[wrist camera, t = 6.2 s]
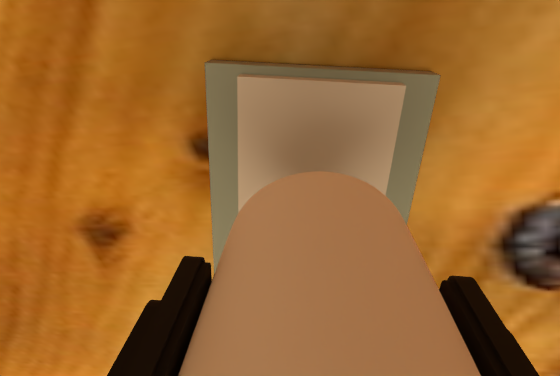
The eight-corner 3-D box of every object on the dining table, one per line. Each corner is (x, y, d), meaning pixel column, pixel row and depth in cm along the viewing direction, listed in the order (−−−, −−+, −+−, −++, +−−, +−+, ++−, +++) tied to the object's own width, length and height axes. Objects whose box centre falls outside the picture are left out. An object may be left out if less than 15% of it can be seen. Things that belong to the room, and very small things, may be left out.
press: (211, 59, 22) (35, 139, 8) (431, 71, 21) (682, 180, 7) (219, 283, 29) (138, 534, 15) (383, 296, 28) (458, 568, 14)
